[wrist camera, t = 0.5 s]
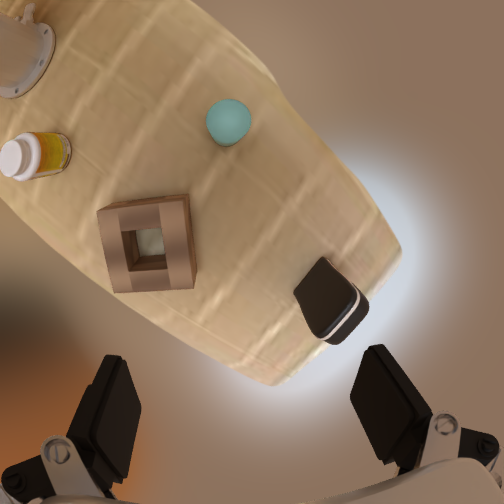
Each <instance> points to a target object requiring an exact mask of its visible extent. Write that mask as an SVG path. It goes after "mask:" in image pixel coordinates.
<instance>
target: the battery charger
mask: <svg viewBox="0 0 504 504" xmlns="http://www.w3.org/2000/svg"><path fill="white" fill-rule="evenodd" d="M294 295H295V297H296V299H297V301H298V303H299V305H300V308H301V310H302V313H303V315H304V318H305V320H306V322H307V324H308V326H309V328H310V330H311V332H312V333H313V334H314V335H315V336H316V338H318V339H320V340H323V341H325V342H327V343H329V344H332V345H337V344H340V343H341V342H342V341H344V340H345V339H346V338H347V337H348V335H349V334H350V333H351V332H352V331H353V330H354V329H355V328H356V326H358V325H359V323H360V322H361V321H362V320H363V319H364V318H365V316H366V315H367V313H368V311H369V302H368V300H367V298H366V297H365V296H364V295H363V294H362V292H361V291H360V290H359V289H358V288H357V287H356V286H355V285H354V284H353V283H352V282H350V281H349V280H348V279H347V278H346V277H345V276H344V275H343V274H342V273H341V272H340V271H339V270H337V269H336V268H335V266H334V265H333V264H332V263H331V262H330V261H329V260H328V259H326V258H324V257H322V258H321V259H320V260H319V261H318V263H317V264H316V265H315V266H314V267H313V269H312V270H311V271H310V272H309V274H308V275H307V276H306V277H305V278H304V280H303V281H302V282H301V283H300V285H299V286H298V287H297V288H296V290H295V291H294Z"/></svg>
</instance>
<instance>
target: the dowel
mask: <svg viewBox="0 0 504 504" xmlns="http://www.w3.org/2000/svg"><path fill="white" fill-rule="evenodd" d="M206 125H207V128H208V130H209V132H210V134H211V136H212V137H213V139H214V141H215V142H216V143H217V144H219V145H221V146H225V147H227V146H232V145H234V144H235V143H237V142H238V141H239V140H240V139H241V138H242V137H243V136H244V135H245V134H246V133H247V132H248V130H249V128H250V125H251V115H250V112H249V110H248V108H247V107H246V106H245V105H244V104H243V103H241V102H239V101H237V100H233V99H225V100H221V101H219V102H217V103H215V104H214V105H213V106H212V107H211V108H210V110H209V111H208V113H207V117H206Z"/></svg>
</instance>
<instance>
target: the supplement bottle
mask: <svg viewBox="0 0 504 504" xmlns="http://www.w3.org/2000/svg"><path fill="white" fill-rule="evenodd" d="M70 155H71V148H70V144H69V141H68V139H67V138H66V137H65V136H64V135H62V134H59V133H34V132H26V133H22V134H19V135H18V136H17V137H16V138H15V139H14V140H10V141H8V142H6V143H5V144H4V146H3V147H2V149H1V152H0V169H1V171H2V173H3V174H4V175H5V176H7V177H13V178H14V179H15V180H17V181H27V180H31V179H36V178H40V177H45V176H49V175H54V174H57V173H59V172H61V171H62V170H63V169H64V168H65V167H66V166H67V164H68V162H69V159H70Z"/></svg>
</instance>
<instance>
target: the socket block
mask: <svg viewBox="0 0 504 504" xmlns="http://www.w3.org/2000/svg"><path fill="white" fill-rule="evenodd" d="M97 217H98V223H99V229H100V234H101V239H102V244H103V249H104V254H105V259H106V263H107V267H108V272H109V276H110V280H111V284H112V288H113V291H114V293H129V292H147V291H164V290H180V289H194V284H195V279H196V274H197V267H196V259H195V251H194V243H193V234H192V225H191V216H190V206H189V195H188V194H183V195H173V196H164V197H156V198H147V199H139V200H132V201H125V202H117V203H112V204H110V205H108V206H106V207H104V208H102V209H100V210H98V211H97ZM159 227H162V235H163V242H164V248H165V255H154V256H142V257H140V256H139V251H138V245H137V239H136V233H135V230H140V229H150V228H159Z"/></svg>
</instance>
